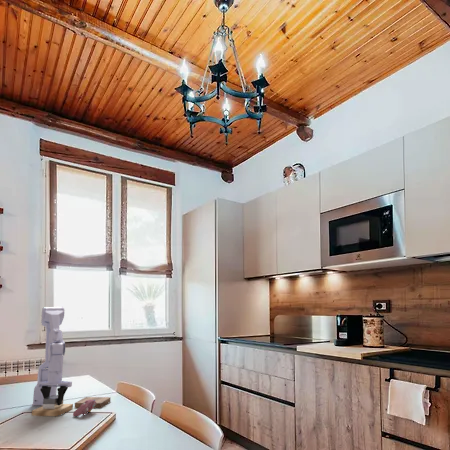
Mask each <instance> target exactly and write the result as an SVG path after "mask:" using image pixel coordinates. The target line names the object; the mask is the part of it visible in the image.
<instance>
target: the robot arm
mask: <svg viewBox="0 0 450 450" xmlns="http://www.w3.org/2000/svg"><path fill="white" fill-rule="evenodd" d="M40 316H41V320H40V323H41V326H43V327H45V350H44V351H45V352H44V353H45V355H44V357H45V358H44V362H42V364H40V365H39V366H38V368H37V369H38V371H37V378H36V379H37V383H36V384H35V386H34V388H33V394H32V395H33V397H32V404H31V405H32V406H43V399H45V398H47V397H49V396H51V395H58V405H61V404H62V400H63V401H64V398H63V397H65V394H66V392H67V391H68V388H71V387H72V386H73V381H68V380H67V381H65V380H63V369H64V368H63V367H64V356H65V354H66V342H65V340H64V337H63V331H62V330H60V326H61V325H62V323H63V322H64V318H65V308H64V306H50V307H49V306H44V307H42V308H41V315H40Z"/></svg>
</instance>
